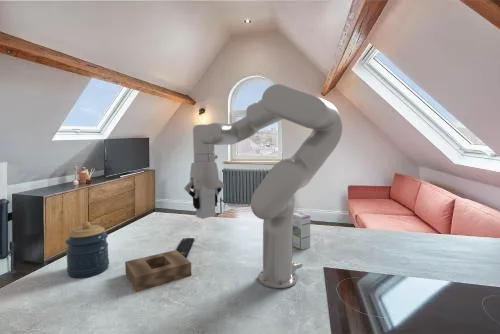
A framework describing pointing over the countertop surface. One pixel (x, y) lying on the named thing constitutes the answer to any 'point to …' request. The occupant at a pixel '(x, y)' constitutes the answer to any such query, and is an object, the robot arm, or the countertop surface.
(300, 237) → the syrup box
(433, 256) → the countertop surface
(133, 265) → the frame
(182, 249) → the remote control
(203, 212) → the skincare box
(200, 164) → the robot arm
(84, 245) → the canister
